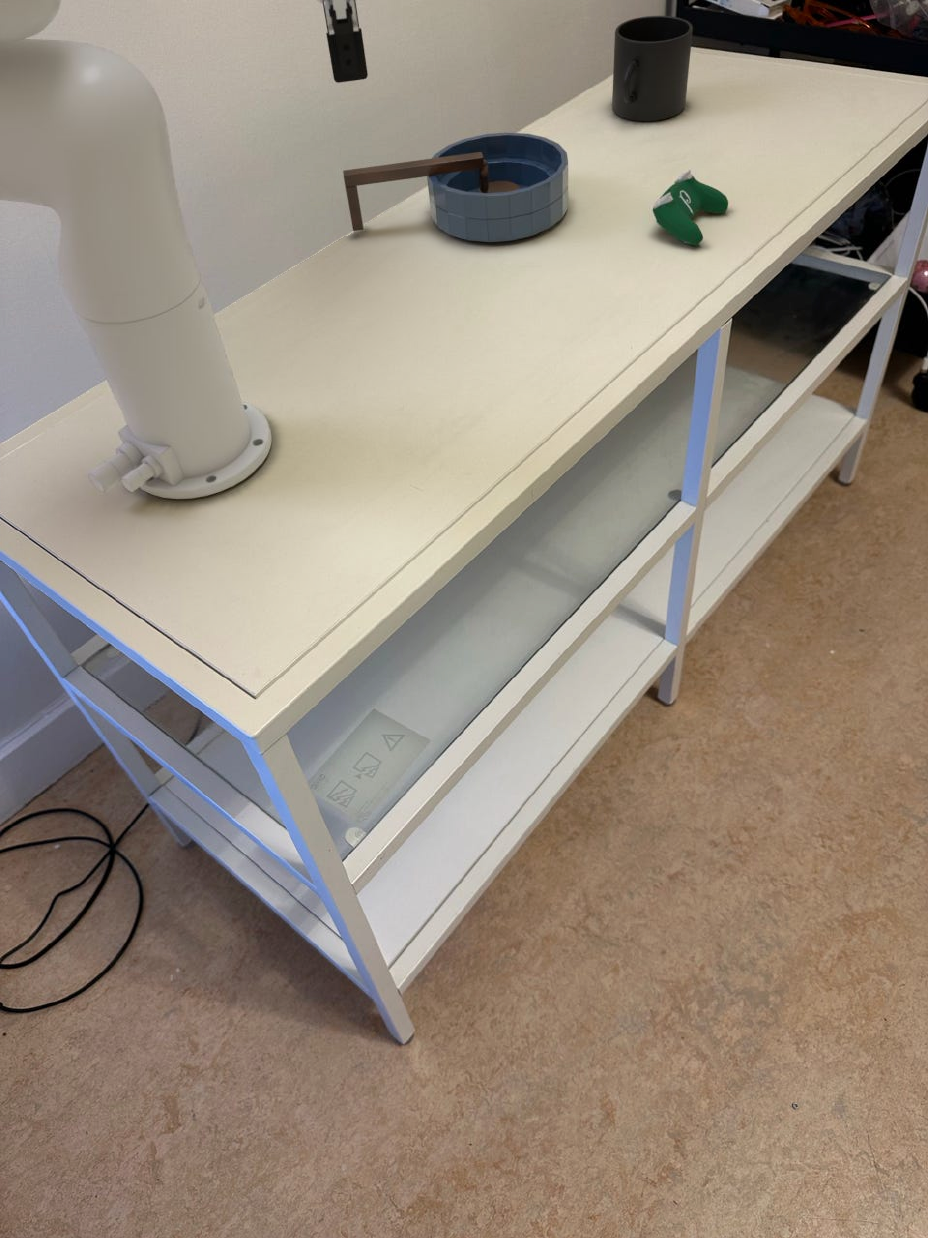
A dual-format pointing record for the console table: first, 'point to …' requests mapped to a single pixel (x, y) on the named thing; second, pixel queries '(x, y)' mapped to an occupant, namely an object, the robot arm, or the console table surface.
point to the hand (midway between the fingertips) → (348, 62)
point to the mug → (651, 67)
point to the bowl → (504, 213)
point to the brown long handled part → (418, 170)
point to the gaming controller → (687, 207)
